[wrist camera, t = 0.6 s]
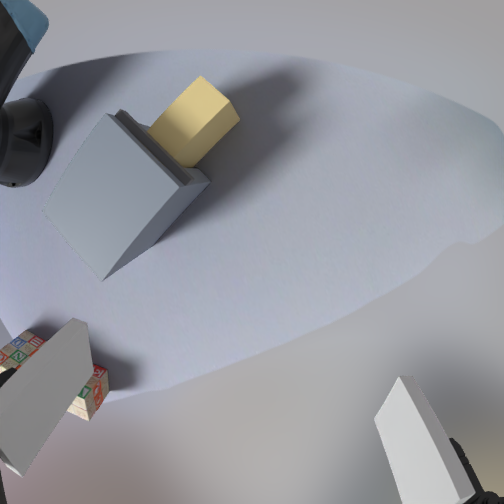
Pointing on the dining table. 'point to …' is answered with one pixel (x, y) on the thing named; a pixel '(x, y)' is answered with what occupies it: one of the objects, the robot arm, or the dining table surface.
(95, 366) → the stack of blocks
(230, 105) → the upright yellow slab
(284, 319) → the dining table surface
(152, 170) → the dispenser
